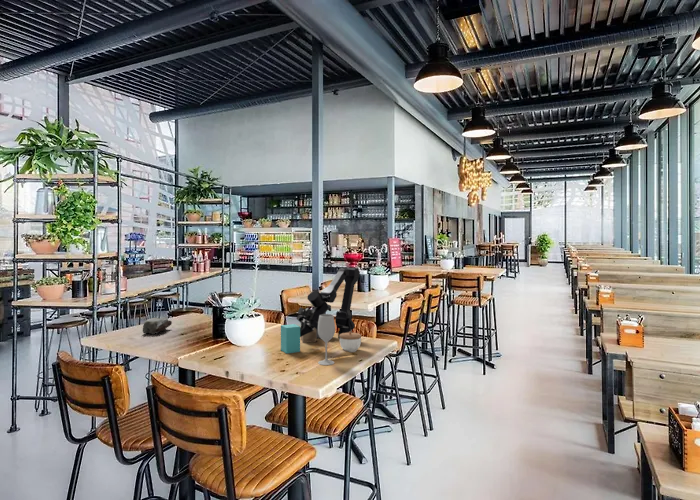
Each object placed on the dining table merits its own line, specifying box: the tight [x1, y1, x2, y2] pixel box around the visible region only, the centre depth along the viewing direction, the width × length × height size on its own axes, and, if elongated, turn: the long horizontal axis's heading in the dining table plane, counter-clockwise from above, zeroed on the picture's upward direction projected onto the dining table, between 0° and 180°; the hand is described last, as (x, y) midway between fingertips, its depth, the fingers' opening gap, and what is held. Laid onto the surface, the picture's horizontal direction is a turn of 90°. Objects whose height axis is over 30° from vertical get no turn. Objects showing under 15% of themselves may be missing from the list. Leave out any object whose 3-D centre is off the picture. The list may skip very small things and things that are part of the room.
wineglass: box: [317, 313, 336, 366], centre depth 191 cm, size 8×8×21 cm
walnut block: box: [300, 328, 317, 343], centre depth 229 cm, size 7×7×12 cm
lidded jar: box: [339, 331, 362, 353], centre depth 212 cm, size 11×11×9 cm
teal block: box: [280, 323, 301, 354], centre depth 208 cm, size 7×7×12 cm
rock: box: [142, 316, 173, 335], centre depth 252 cm, size 18×11×8 cm, turn 2°
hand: (297, 336), depth 210 cm, fingers closed, pressing on teal block
